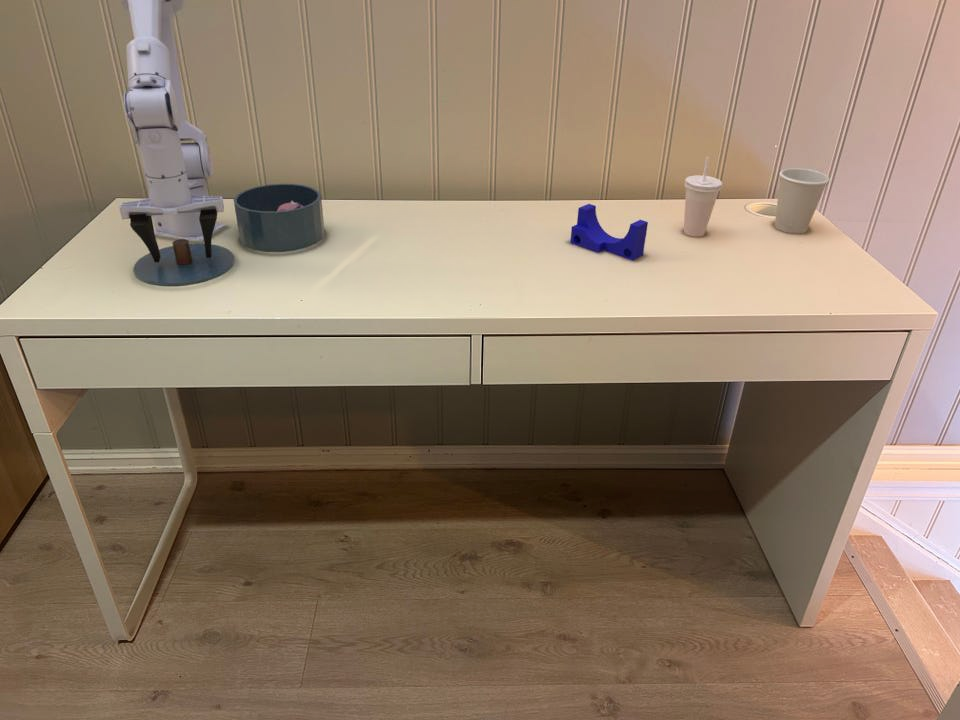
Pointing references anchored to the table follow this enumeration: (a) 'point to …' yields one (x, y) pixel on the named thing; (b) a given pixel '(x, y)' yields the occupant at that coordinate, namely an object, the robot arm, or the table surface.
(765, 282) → the table surface
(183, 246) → the lid
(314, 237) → the tin
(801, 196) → the dixie cup
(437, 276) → the table surface
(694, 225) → the smoothie
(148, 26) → the robot arm
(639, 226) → the blue cradle bracket
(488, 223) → the table surface
